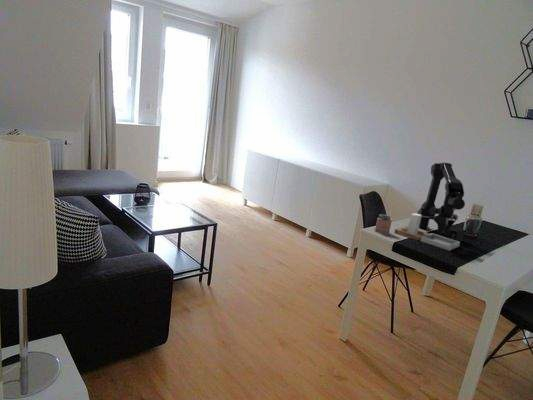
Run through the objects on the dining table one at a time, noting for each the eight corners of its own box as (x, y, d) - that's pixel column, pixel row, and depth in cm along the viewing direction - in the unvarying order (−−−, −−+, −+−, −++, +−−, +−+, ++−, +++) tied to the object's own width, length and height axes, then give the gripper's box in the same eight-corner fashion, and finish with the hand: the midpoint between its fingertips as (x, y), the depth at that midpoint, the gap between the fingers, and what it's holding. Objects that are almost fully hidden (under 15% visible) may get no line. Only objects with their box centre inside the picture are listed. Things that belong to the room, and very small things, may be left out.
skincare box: (409, 232, 212) (414, 212, 210) (417, 235, 210) (422, 214, 207) (405, 234, 208) (410, 213, 205) (413, 237, 205) (418, 216, 202)
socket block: (405, 229, 218) (406, 226, 218) (428, 237, 209) (429, 233, 208) (394, 232, 208) (395, 229, 208) (418, 240, 199) (419, 237, 198)
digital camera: (452, 238, 214) (455, 226, 213) (462, 241, 210) (465, 229, 209) (444, 240, 207) (447, 228, 206) (454, 243, 203) (457, 231, 202)
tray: (431, 237, 208) (432, 233, 208) (458, 246, 198) (460, 242, 198) (420, 241, 198) (421, 236, 197) (449, 251, 188) (450, 246, 187)
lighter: (388, 232, 207) (392, 215, 205) (389, 234, 204) (393, 216, 202) (374, 230, 208) (377, 212, 206) (375, 231, 205) (378, 214, 202)
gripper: (440, 199, 205) (433, 226, 209) (427, 202, 192) (420, 230, 196) (461, 205, 198) (454, 232, 201) (449, 208, 185) (441, 237, 188)
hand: (442, 233), depth 197 cm, fingers open, 8 cm apart
